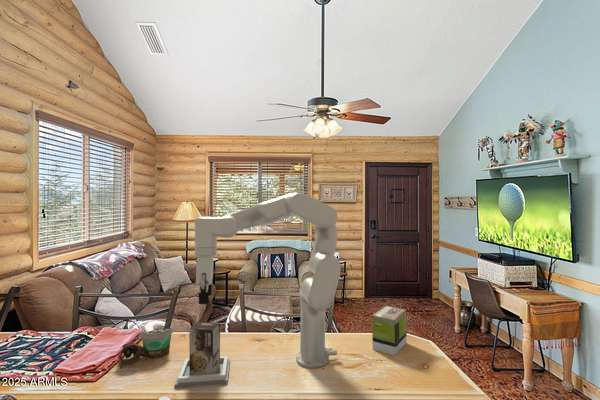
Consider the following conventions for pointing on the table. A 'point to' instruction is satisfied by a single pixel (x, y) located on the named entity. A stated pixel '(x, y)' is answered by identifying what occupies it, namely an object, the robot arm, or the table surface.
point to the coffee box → (204, 348)
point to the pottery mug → (128, 351)
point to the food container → (156, 342)
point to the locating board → (199, 380)
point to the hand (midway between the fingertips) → (205, 299)
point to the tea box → (389, 330)
